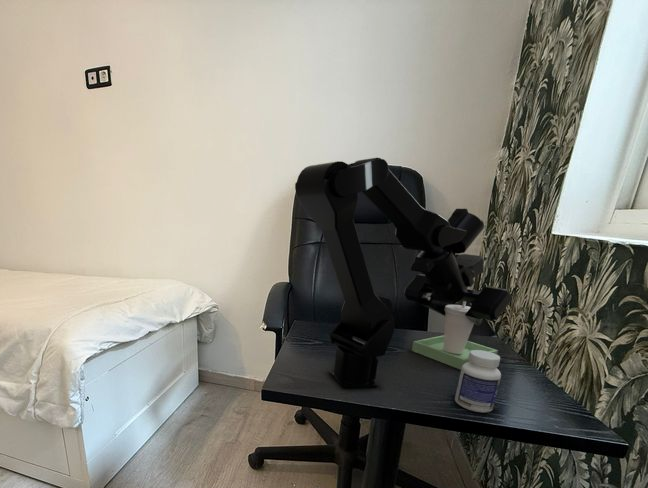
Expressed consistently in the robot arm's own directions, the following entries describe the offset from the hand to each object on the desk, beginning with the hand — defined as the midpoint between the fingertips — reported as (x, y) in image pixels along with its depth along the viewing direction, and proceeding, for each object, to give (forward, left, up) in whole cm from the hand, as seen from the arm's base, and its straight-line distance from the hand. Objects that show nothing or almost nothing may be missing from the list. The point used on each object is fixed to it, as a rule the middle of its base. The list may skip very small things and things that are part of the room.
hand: (463, 319), depth 77 cm
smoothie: (-1, 0, -7) cm, 7 cm away
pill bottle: (-13, -20, -8) cm, 26 cm away
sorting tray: (-1, 0, -8) cm, 8 cm away
